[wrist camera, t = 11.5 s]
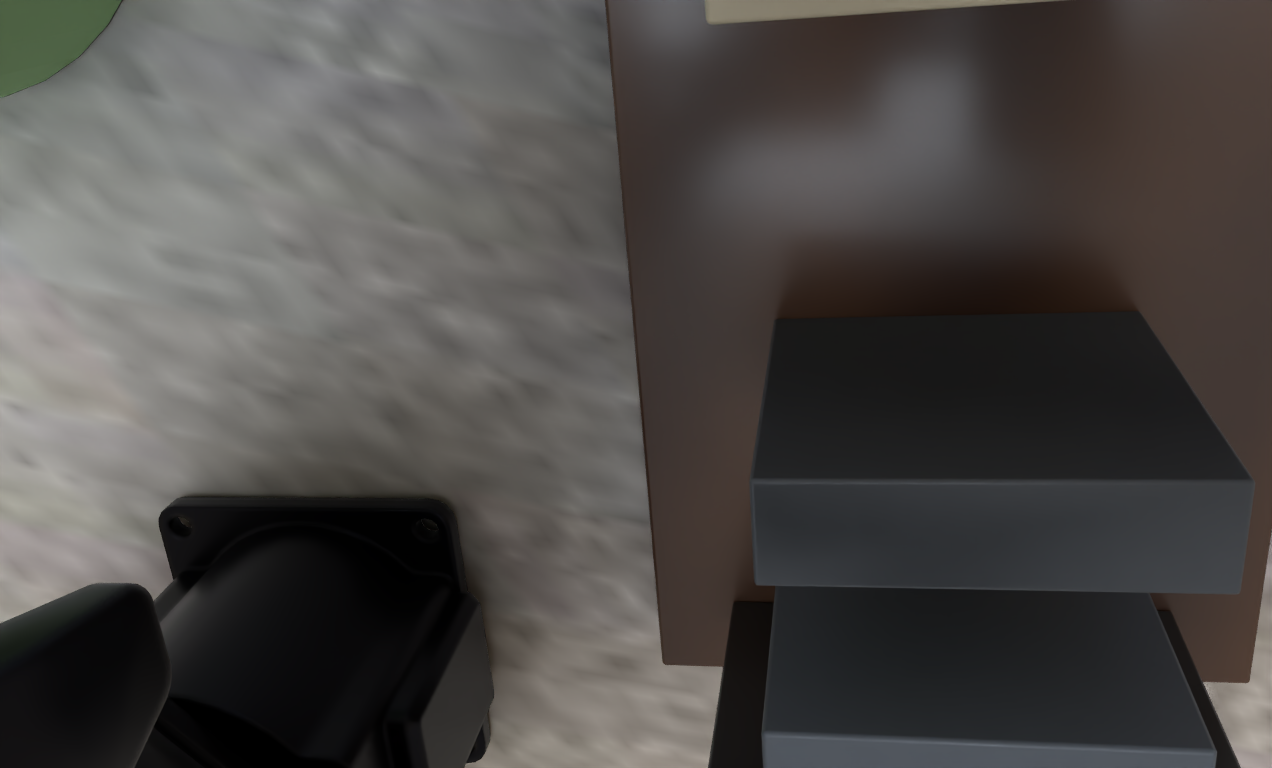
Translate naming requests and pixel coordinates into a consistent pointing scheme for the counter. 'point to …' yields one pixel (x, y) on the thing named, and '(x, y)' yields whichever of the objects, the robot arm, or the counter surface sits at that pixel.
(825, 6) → the cream book
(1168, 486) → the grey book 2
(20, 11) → the mug
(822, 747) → the grey book
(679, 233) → the book rack
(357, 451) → the counter surface
